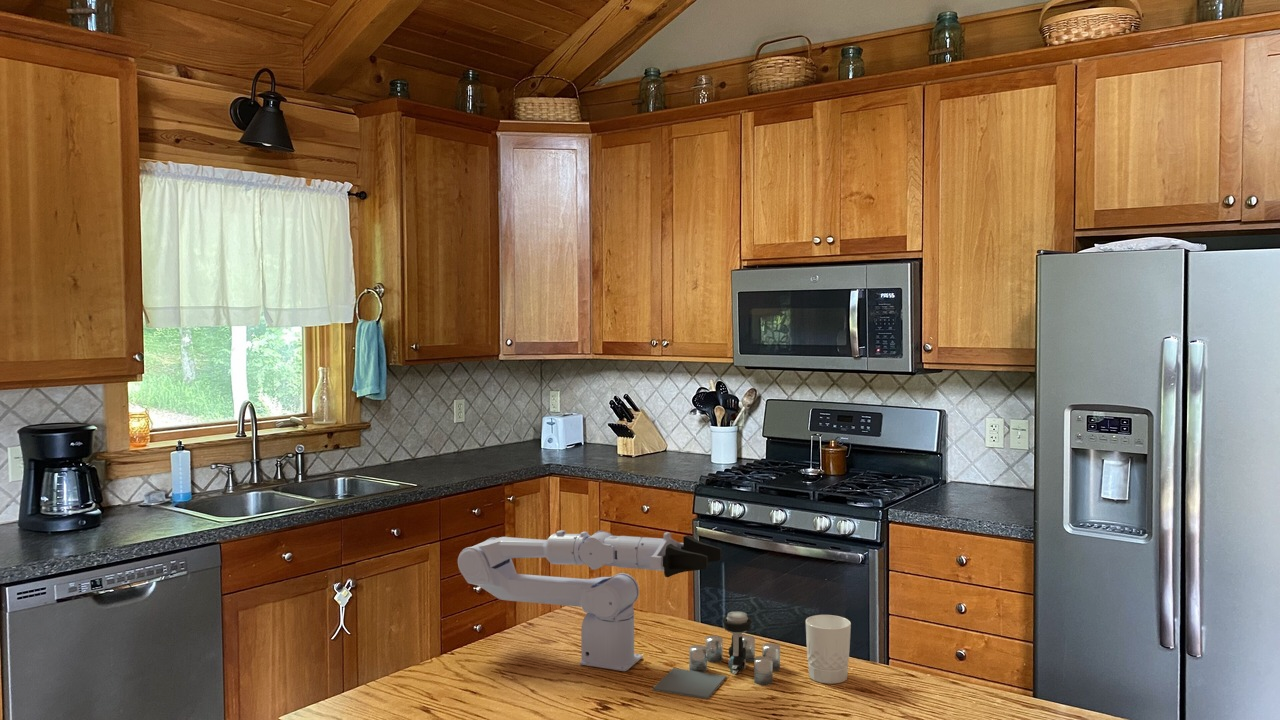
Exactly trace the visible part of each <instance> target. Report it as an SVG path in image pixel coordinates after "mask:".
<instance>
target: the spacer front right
mask: <svg viewBox="0 0 1280 720" xmlns="http://www.w3.org/2000/svg"><path fill="white" fill-rule="evenodd" d="M753 671H754V672H753V677H754V678H753V682H754V683H755V684H756V685H759V686H769V685H772V684H773V672H774V671H773V659H772V658H770V657H766V656H762V655H760V656H755V658H754V661H753Z"/></svg>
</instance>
